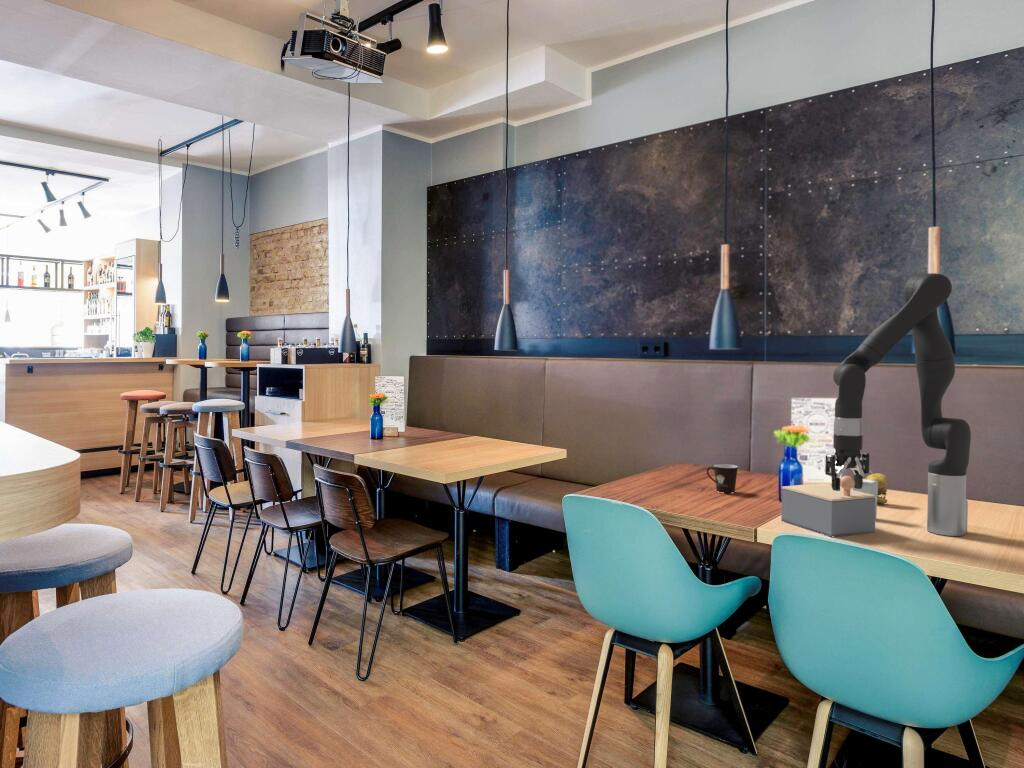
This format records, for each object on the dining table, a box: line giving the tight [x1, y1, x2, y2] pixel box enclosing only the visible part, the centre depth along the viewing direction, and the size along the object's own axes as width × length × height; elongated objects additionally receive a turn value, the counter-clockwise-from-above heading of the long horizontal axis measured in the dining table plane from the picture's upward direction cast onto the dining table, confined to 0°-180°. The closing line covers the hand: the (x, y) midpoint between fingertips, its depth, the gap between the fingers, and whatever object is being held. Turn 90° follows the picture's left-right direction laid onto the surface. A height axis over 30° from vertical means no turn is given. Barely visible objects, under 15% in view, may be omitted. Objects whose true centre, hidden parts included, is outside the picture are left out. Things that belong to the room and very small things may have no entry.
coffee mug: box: [706, 463, 739, 493], centre depth 250 cm, size 12×9×10 cm
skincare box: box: [852, 478, 878, 520], centre depth 208 cm, size 6×4×12 cm
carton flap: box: [781, 475, 876, 502], centre depth 198 cm, size 16×20×6 cm
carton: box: [780, 488, 876, 538], centre depth 198 cm, size 16×20×10 cm
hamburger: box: [864, 470, 890, 505], centre depth 228 cm, size 8×7×12 cm
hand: (847, 489), depth 191 cm, fingers open, 7 cm apart
